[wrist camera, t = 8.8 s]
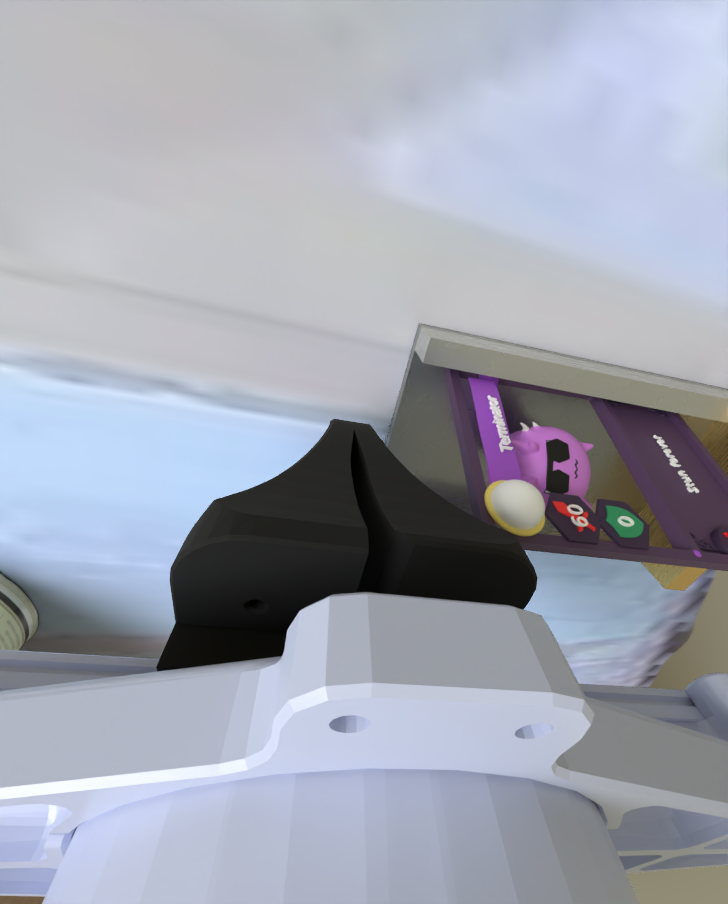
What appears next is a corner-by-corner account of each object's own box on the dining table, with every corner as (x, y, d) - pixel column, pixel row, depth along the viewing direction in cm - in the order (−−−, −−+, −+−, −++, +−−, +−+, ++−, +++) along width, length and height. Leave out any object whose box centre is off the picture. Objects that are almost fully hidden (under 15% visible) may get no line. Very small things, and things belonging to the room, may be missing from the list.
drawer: (628, 532, 18) (683, 590, 15) (370, 497, 16) (375, 556, 13) (746, 393, 14) (853, 434, 11) (419, 323, 12) (442, 351, 9)
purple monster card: (838, 562, 8) (502, 524, 7) (659, 614, 12) (423, 594, 11) (685, 384, 13) (456, 341, 12) (588, 465, 17) (410, 440, 16)
